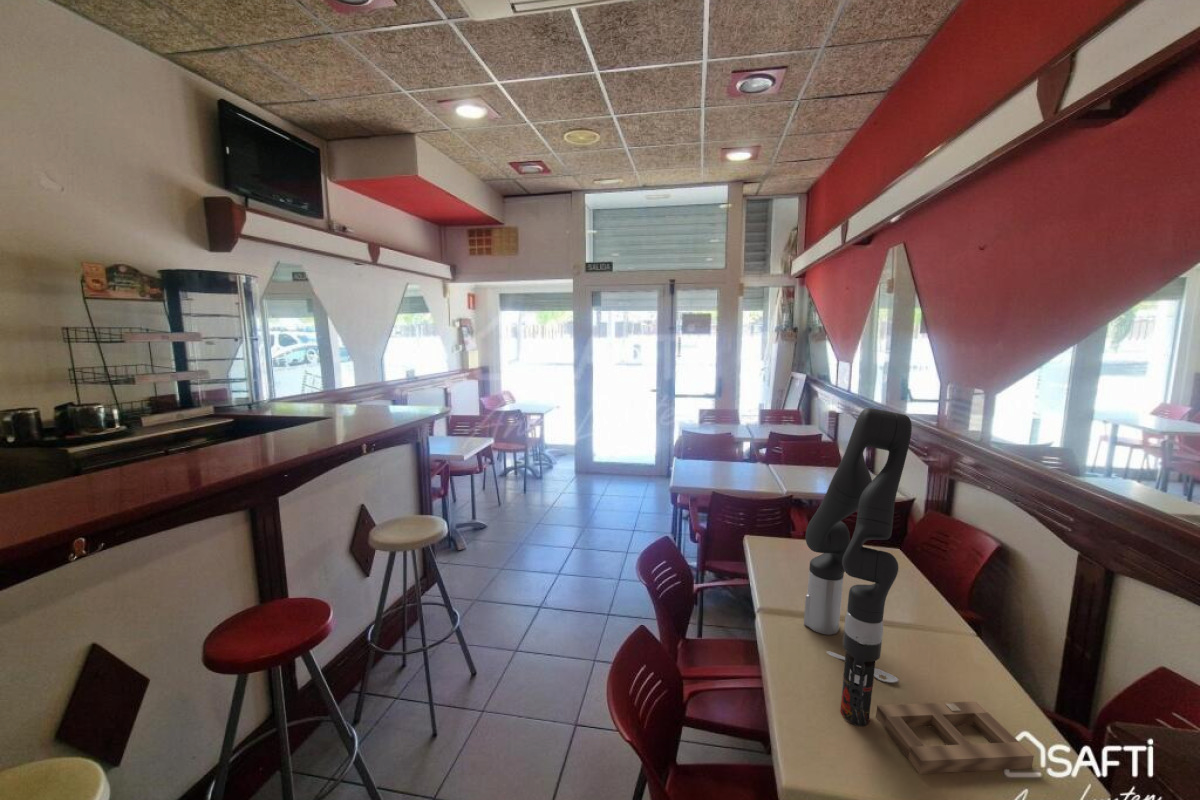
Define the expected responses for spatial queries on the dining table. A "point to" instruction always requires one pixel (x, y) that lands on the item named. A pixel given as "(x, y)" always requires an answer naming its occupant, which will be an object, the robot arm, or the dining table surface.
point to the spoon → (876, 671)
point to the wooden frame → (953, 738)
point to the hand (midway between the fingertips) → (856, 698)
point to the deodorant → (863, 714)
